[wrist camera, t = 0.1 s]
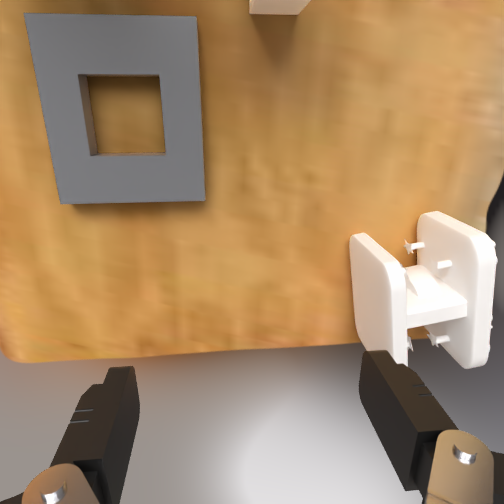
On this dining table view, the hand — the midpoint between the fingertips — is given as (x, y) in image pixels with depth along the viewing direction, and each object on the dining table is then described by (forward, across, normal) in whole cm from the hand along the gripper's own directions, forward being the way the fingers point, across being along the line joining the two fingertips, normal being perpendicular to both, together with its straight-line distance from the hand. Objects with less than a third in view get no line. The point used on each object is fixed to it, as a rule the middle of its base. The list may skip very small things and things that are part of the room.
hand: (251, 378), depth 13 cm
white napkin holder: (+29, -20, +10) cm, 37 cm away
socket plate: (+29, +9, -8) cm, 32 cm away
